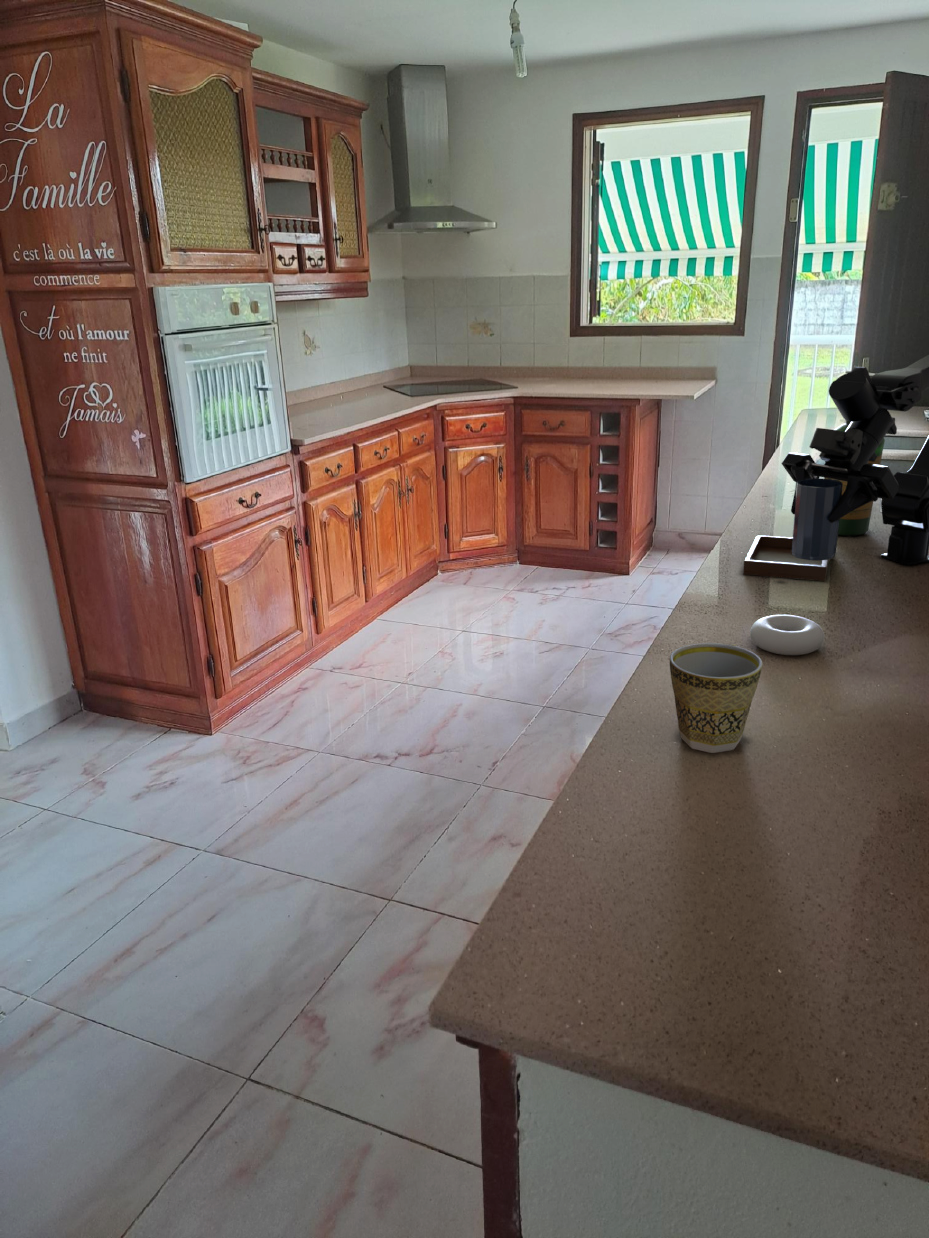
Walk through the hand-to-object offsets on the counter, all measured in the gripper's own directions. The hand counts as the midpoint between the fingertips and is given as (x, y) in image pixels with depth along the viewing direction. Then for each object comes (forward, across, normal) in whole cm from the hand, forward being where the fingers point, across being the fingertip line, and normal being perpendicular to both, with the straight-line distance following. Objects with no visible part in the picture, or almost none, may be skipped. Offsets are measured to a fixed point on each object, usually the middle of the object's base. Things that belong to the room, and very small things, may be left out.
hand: (811, 517), depth 143 cm
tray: (+2, -12, +17) cm, 21 cm away
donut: (+24, +13, -6) cm, 28 cm away
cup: (+4, 0, +6) cm, 7 cm away
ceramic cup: (+43, +26, -26) cm, 57 cm away
